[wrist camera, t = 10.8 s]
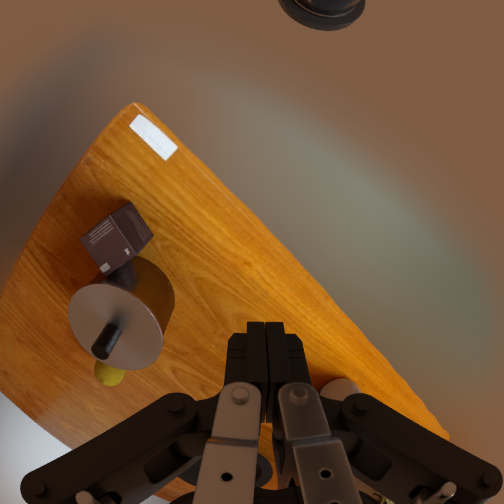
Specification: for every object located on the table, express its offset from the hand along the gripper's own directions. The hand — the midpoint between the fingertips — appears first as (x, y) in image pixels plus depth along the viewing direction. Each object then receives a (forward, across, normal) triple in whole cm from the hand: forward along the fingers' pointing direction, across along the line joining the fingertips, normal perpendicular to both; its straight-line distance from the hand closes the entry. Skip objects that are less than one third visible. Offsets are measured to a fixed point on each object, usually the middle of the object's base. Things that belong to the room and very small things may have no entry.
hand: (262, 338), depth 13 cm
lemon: (+29, +24, +28) cm, 47 cm away
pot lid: (+20, +18, +15) cm, 30 cm away
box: (+29, +18, +4) cm, 35 cm away
